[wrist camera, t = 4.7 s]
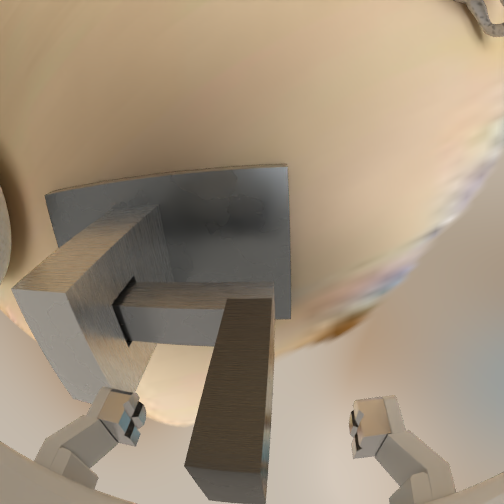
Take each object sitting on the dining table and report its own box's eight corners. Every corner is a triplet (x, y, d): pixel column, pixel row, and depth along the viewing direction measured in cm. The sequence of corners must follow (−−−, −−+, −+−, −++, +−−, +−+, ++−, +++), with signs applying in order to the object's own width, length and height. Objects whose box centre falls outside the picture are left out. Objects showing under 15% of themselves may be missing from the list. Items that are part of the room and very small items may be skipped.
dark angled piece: (56, 314, 19) (-20, 414, 9) (39, 272, 17) (-55, 369, 8) (275, 325, 17) (265, 504, 8) (273, 270, 15) (260, 473, 6)
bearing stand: (87, 305, 27) (22, 393, 16) (52, 191, 22) (-54, 254, 11) (290, 309, 25) (292, 444, 14) (287, 163, 20) (298, 237, 8)
